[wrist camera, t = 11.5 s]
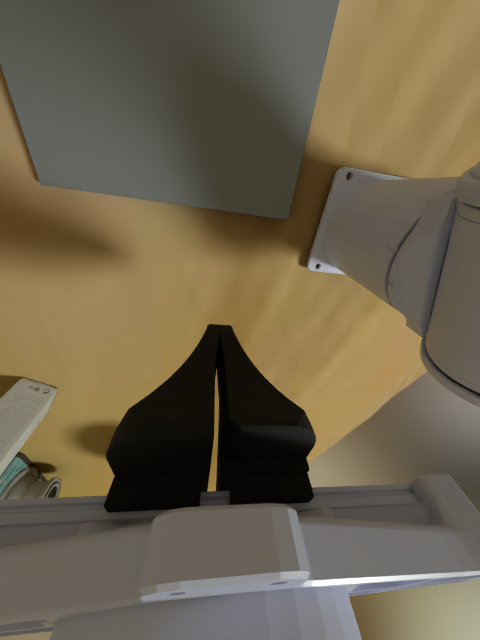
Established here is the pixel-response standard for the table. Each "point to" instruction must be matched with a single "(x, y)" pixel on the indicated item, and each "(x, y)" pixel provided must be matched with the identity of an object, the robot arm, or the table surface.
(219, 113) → the plate
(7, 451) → the skincare box
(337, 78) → the table surface
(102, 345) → the table surface
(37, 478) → the camera
